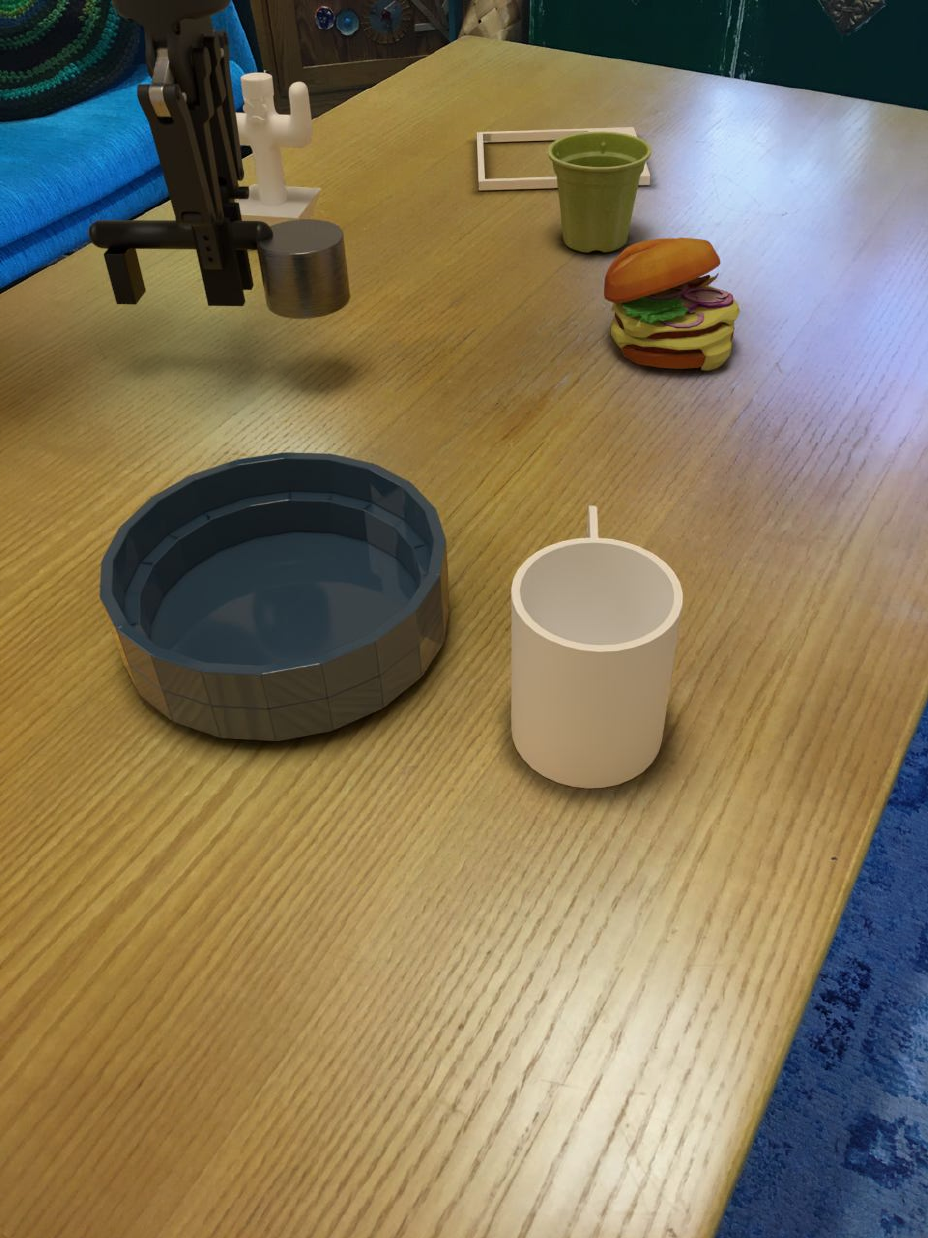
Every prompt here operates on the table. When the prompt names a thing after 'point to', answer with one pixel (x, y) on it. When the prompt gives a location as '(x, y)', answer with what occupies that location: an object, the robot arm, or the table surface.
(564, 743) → the cup
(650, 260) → the cheeseburger
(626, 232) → the plant pot
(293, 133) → the figurine
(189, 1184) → the table surface
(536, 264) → the table surface
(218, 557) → the bowl
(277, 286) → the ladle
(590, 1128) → the table surface
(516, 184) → the photo frame
